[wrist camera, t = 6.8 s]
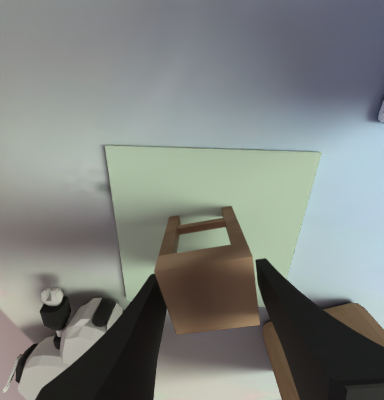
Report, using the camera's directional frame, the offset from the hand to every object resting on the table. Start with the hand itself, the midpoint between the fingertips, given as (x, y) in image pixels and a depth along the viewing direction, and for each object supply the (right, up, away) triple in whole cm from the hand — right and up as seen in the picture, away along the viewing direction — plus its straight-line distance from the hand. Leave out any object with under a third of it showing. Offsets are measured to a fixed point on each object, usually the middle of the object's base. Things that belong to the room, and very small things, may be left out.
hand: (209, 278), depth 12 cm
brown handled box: (0, +2, +4) cm, 4 cm away
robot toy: (-12, -10, +10) cm, 19 cm away
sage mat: (0, +2, +4) cm, 5 cm away
